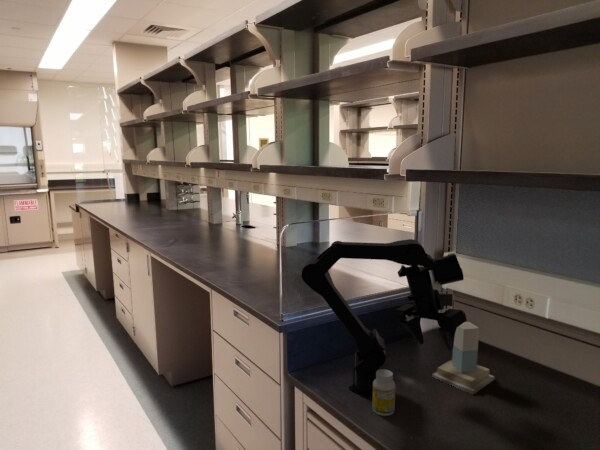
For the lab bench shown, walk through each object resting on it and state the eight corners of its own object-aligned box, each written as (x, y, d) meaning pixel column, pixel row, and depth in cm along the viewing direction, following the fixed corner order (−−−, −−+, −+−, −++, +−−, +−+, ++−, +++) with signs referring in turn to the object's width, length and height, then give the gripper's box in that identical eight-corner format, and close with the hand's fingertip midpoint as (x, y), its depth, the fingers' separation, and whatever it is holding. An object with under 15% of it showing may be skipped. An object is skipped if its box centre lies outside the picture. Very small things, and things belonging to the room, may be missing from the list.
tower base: (431, 377, 120) (432, 367, 120) (454, 364, 128) (454, 354, 127) (472, 394, 111) (473, 384, 111) (494, 379, 119) (494, 369, 118)
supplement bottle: (392, 418, 101) (393, 380, 99) (369, 413, 103) (370, 376, 101) (396, 406, 106) (397, 370, 104) (374, 402, 108) (375, 366, 106)
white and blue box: (461, 373, 116) (463, 329, 115) (451, 365, 121) (454, 323, 119) (476, 371, 117) (479, 327, 115) (466, 363, 122) (469, 321, 120)
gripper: (472, 279, 104) (487, 339, 106) (414, 276, 120) (427, 329, 121) (444, 296, 98) (459, 359, 100) (386, 291, 114) (401, 345, 115)
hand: (436, 347), depth 109 cm, fingers open, 9 cm apart
